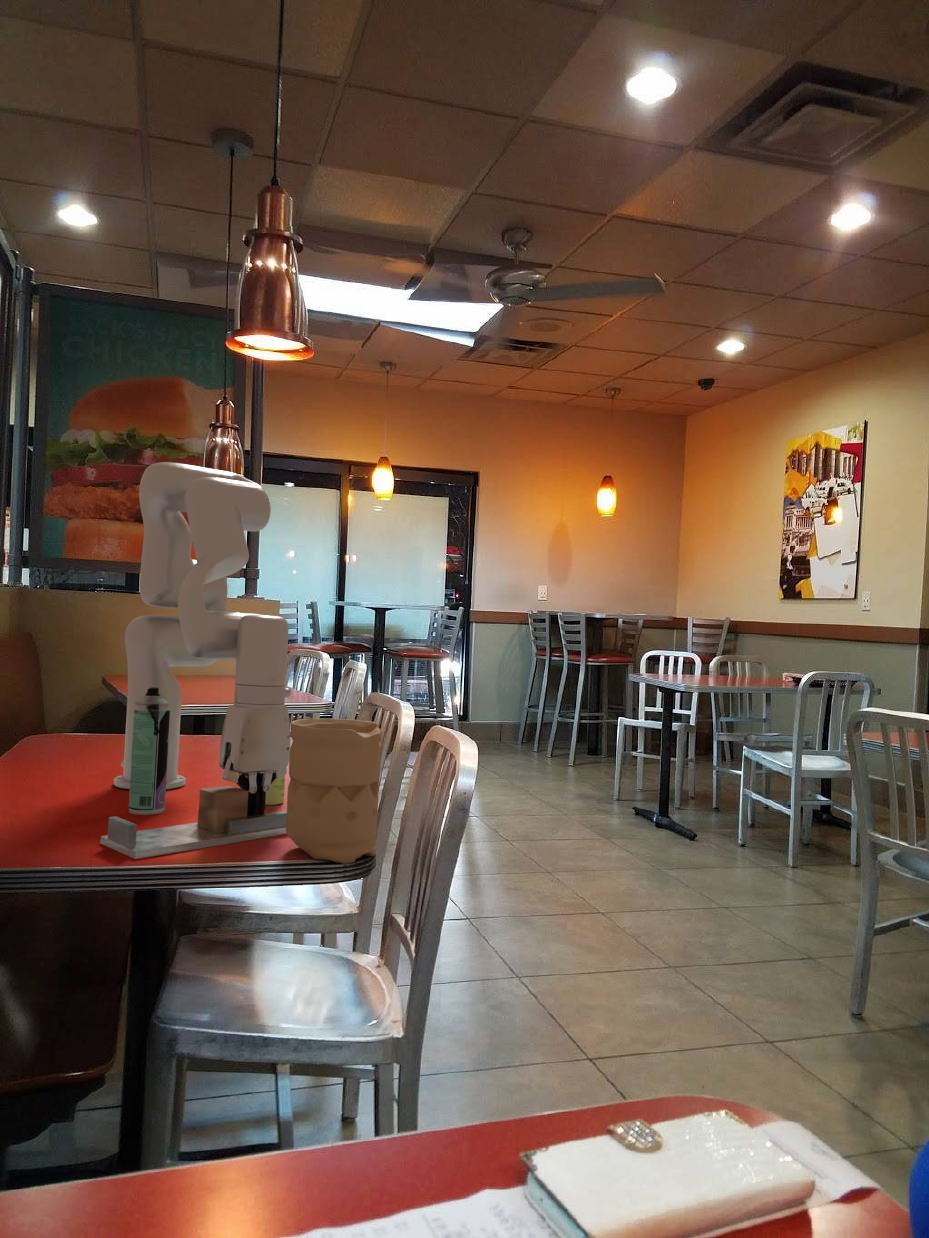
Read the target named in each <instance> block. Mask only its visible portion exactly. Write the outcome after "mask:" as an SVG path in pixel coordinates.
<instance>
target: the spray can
mask: <svg viewBox="0 0 929 1238" xmlns="http://www.w3.org/2000/svg"><path fill="white" fill-rule="evenodd" d="M161 697H162V695H160V693H159V688H158V687H152V688H149V689H148V690H147V693H146V695H144V698H142V699H140V700H139V701H137V702H135V704H136V706H135V707H134V723H133V742H132V760H131V778H130V789H129V798H128V813H130V814H131V815H137V816H139V815H140V816H150V815H151V816H153V815H159V814H162V813H164V812H165V808H166V792H167V789H166V775H167V757H168V739H169V721H170V707H169V705H170V703H169V702H167V701H166V700H165V699H163V698H161Z"/></svg>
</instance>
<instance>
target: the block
mask: <svg viewBox="0 0 929 1238" xmlns="http://www.w3.org/2000/svg"><path fill="white" fill-rule="evenodd" d="M198 801H199V802H198V810H199V814H198V813H197V822H198V827H201V828H203V829H206V830H209V831H211V832H214V833H221V832H225V828H226V819H231V818H238V817H245V816H247V807H248V791H246V790H243V789H240V787H239V788H238V787H235V786H231V785H225V786H217V787H216V786H215V787H207V788H205V787H204V788H199V799H198Z"/></svg>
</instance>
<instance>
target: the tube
mask: <svg viewBox="0 0 929 1238" xmlns="http://www.w3.org/2000/svg"><path fill="white" fill-rule="evenodd" d="M285 782H286V775H284V776H282V777H279V778H276V779H275V780H274V781H273V783H272V784H271V785H270V789H269V791H267V792H266V800H265V806H266V805H267V806H274V805H275V806H276V805H281V804H283V803H284V802H285V784H286V783H285Z"/></svg>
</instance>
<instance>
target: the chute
mask: <svg viewBox="0 0 929 1238" xmlns="http://www.w3.org/2000/svg"><path fill="white" fill-rule="evenodd" d="M197 811H198V812H197V815H198V814H199V809H198V810H197ZM286 819H287V810H281V811H276V812H266V813H264V814H259V815H252V816H245V817H238V818H231V819H226V828H225V832H221V833H214V832H211V831H209V830H206V829H203V828H201V827H198V821H196V822H191V823H184V824H177V825H171V826H169V825H168V826H163V827H156V828H150V829H142V830H137V828H138V825H137V823H134V822H132V821H129V820H127V819H124V818H121V817H119V816H113V815H112V816H109V817H108V823H107V824H108V825H107V834H106V835H101V836H100V845H103V846H106V847H107V848H109V849H112V850H114V851H116V852H119V853H120V854H123V855H125V856H127V857H130V858H131V859H133V860H139V859H144V858H145V859H146V858H150V857H151V858H152V857H157V856H162V855H169V854H175V853H182V852H186V851H194V850H198V849H199V850H200V849H206V848H211V847H218V846H221V845H222V846H223V845H230V844H236V843H241V842H246V841H252V840H258V839H263V838H264V839H266V838H269V837H270V838H271V837H277V836H283V835H287V833H286Z"/></svg>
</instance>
